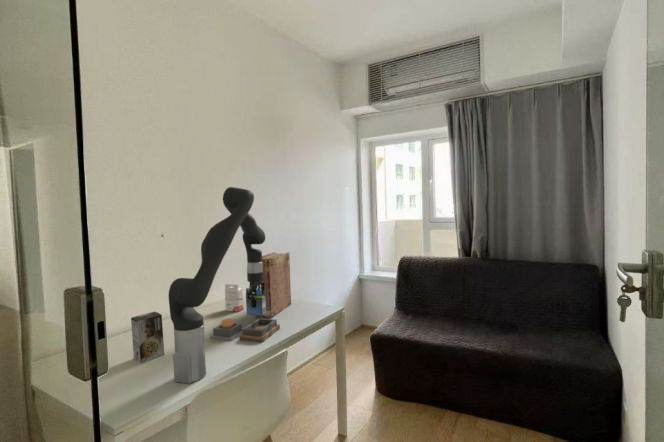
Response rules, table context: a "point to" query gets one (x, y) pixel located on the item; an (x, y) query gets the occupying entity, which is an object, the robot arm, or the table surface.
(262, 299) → the label tape box
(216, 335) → the button panel
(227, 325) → the button
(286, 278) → the book
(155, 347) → the coffee box
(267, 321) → the tray
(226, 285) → the ink cartridge box
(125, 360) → the table surface
